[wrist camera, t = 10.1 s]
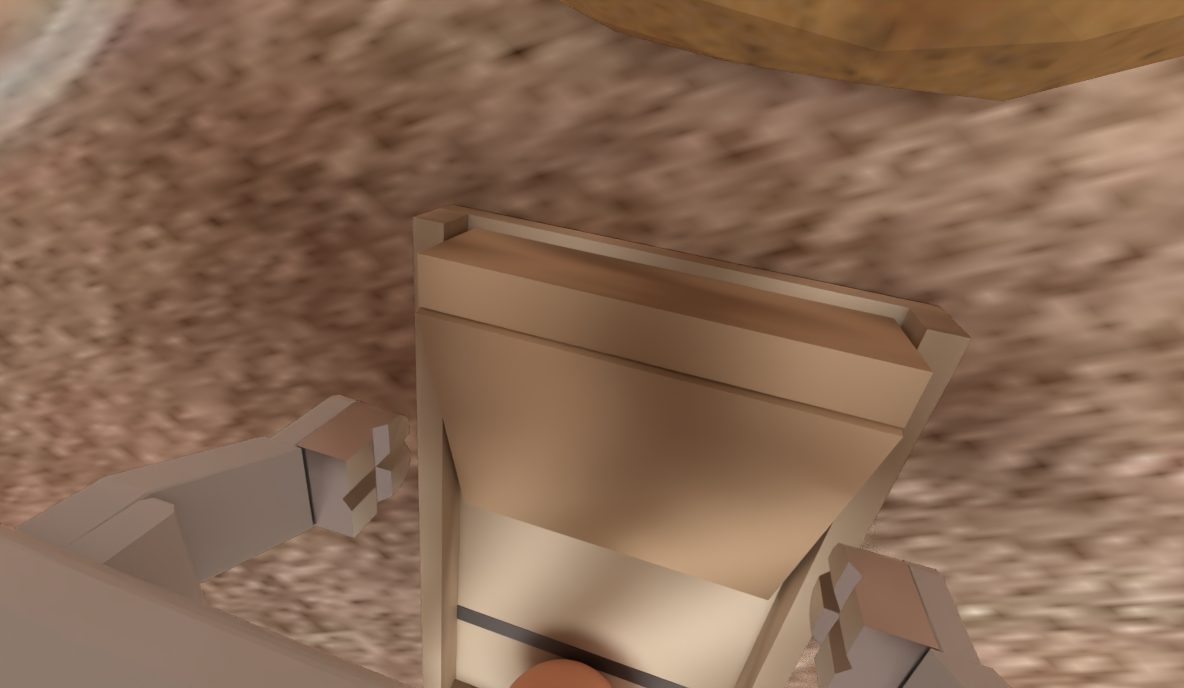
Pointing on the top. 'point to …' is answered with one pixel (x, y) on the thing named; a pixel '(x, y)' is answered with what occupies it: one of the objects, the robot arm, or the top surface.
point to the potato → (915, 38)
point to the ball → (561, 676)
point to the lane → (645, 450)
